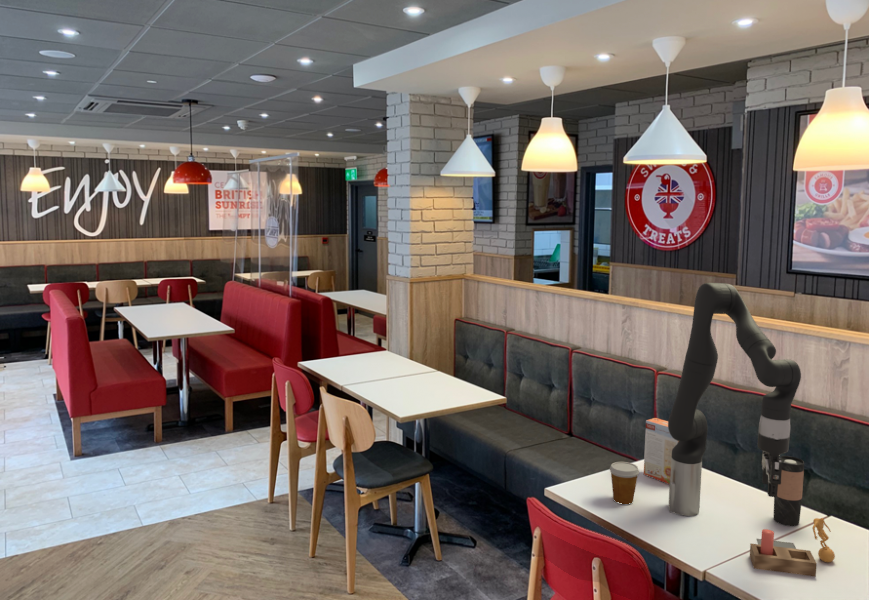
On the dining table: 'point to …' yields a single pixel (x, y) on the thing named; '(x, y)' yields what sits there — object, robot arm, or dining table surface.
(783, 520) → the travel mug
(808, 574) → the hole block
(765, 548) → the peg
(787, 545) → the mat
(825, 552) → the figurine
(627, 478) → the disposable coffee cup
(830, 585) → the dining table surface
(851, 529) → the dining table surface
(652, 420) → the cracker box
